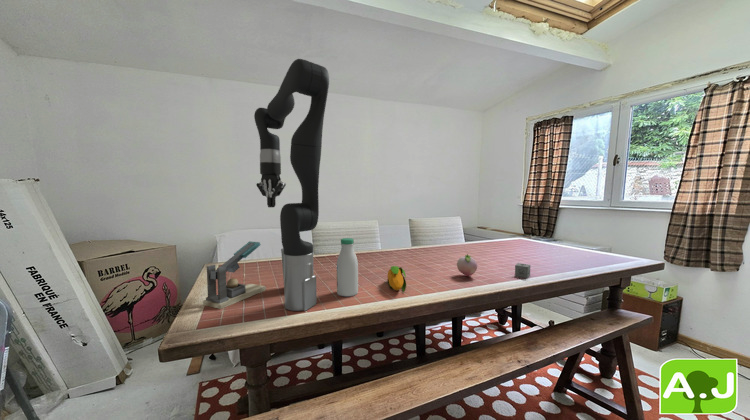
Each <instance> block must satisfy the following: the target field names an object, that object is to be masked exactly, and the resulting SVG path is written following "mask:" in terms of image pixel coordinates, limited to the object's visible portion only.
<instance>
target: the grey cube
mask: <svg viewBox="0 0 750 420" xmlns="http://www.w3.org/2000/svg"><path fill="white" fill-rule="evenodd" d="M514 276H515V277H516V278H524V279H529V278H530V277H531V264H526V263H520V262H518V263H516V264H515V265H514Z"/></svg>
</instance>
